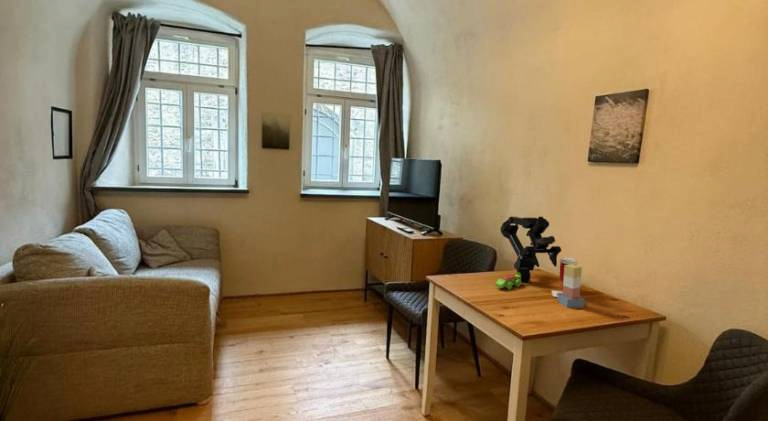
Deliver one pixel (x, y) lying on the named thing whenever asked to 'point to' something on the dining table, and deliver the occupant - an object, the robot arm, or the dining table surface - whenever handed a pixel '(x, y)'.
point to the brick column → (572, 281)
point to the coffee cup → (562, 263)
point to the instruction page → (556, 293)
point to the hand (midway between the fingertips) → (547, 266)
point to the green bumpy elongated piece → (509, 281)
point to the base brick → (571, 301)
